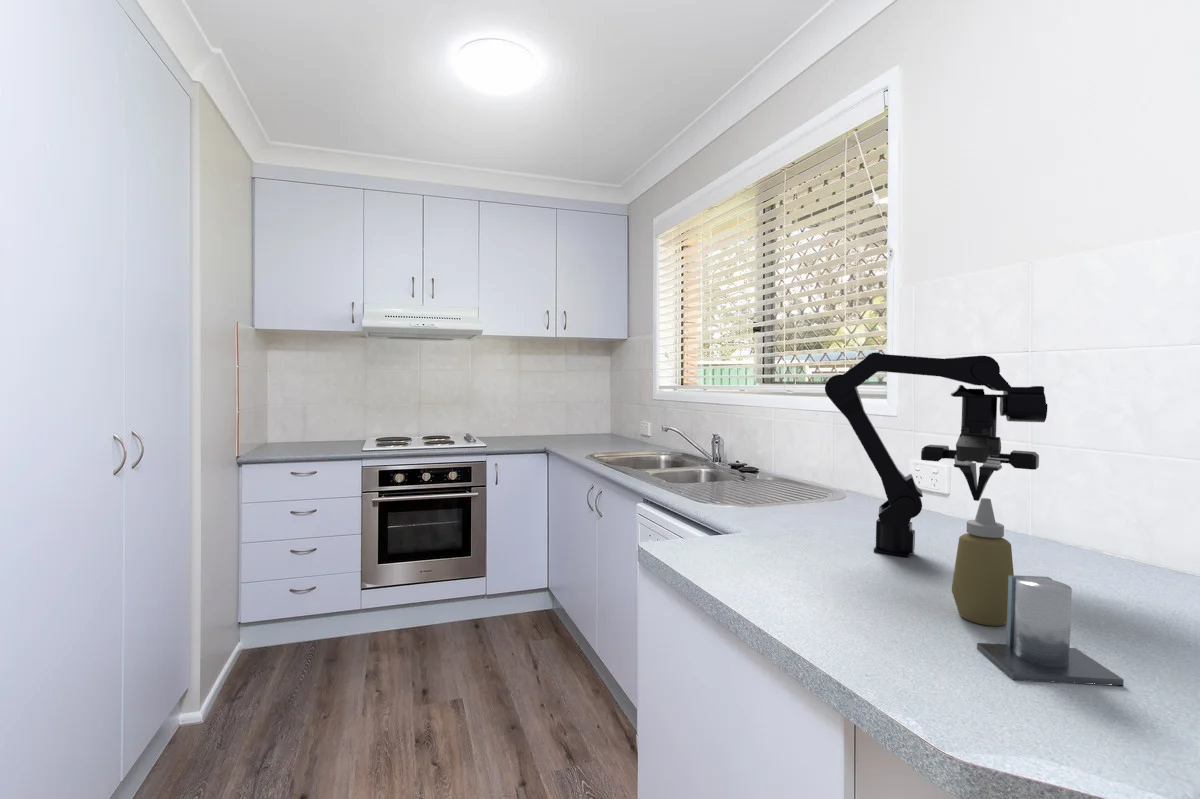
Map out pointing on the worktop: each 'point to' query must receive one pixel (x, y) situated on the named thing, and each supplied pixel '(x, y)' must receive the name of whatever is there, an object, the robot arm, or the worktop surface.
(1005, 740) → the worktop surface
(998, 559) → the squeeze bottle
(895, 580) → the worktop surface
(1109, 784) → the worktop surface
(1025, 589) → the bookend
